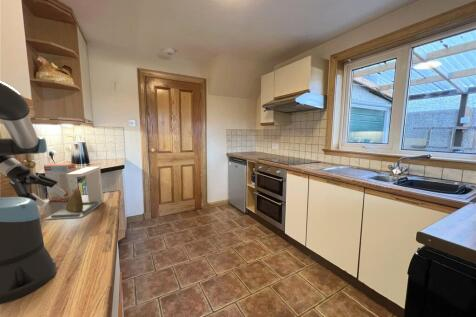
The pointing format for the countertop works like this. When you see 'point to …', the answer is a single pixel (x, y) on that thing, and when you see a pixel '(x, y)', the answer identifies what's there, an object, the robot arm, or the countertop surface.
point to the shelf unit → (93, 193)
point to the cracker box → (61, 180)
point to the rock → (75, 202)
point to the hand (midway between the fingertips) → (54, 199)
